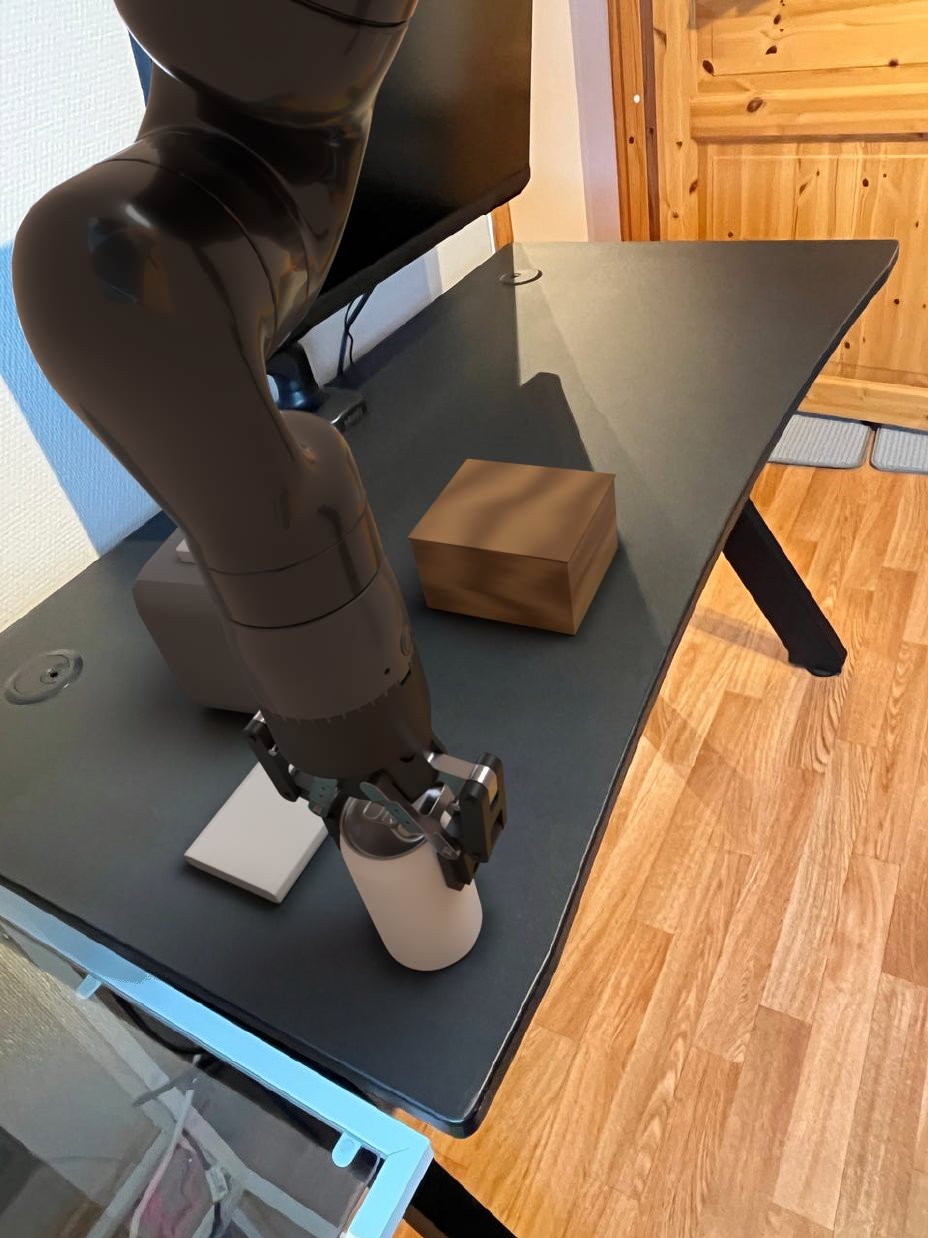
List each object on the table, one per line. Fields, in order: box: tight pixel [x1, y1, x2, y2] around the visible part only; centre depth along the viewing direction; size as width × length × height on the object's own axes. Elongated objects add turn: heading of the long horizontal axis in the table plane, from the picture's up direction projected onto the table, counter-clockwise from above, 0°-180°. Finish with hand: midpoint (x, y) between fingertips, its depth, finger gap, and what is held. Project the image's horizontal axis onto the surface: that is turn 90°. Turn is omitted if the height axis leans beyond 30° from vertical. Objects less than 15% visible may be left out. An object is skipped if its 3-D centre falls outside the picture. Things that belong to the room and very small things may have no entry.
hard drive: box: [183, 761, 329, 905], centre depth 61 cm, size 2×8×12 cm
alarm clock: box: [131, 527, 259, 715], centre depth 69 cm, size 16×11×16 cm
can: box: [340, 792, 483, 972], centre depth 49 cm, size 6×6×12 cm
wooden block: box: [406, 458, 619, 636], centre depth 74 cm, size 14×12×8 cm
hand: (407, 857), depth 48 cm, fingers closed on can, 6 cm apart
